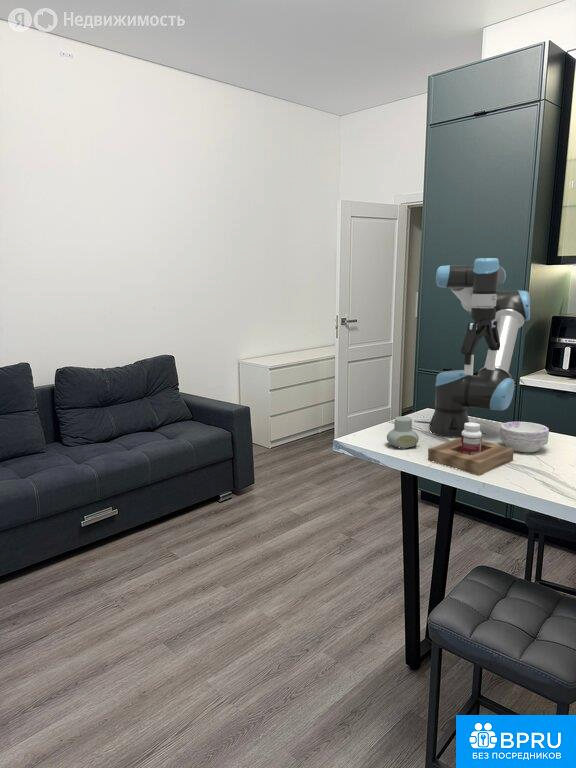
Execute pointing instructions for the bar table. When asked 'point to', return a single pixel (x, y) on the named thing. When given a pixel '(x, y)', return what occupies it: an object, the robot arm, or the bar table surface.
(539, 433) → the paper bowls
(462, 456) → the walnut holder
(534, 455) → the bar table surface
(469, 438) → the pill bottle
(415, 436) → the air freshener
